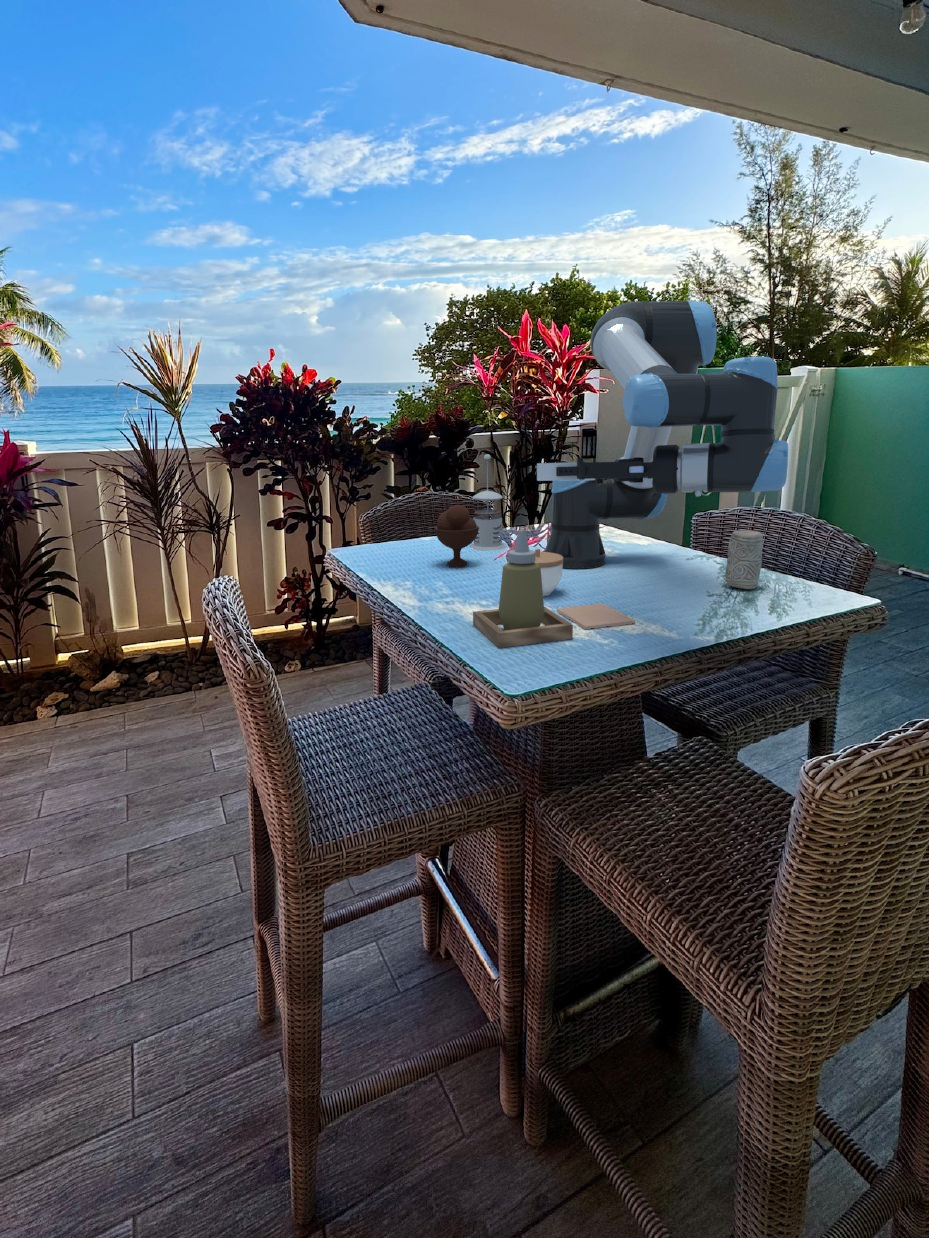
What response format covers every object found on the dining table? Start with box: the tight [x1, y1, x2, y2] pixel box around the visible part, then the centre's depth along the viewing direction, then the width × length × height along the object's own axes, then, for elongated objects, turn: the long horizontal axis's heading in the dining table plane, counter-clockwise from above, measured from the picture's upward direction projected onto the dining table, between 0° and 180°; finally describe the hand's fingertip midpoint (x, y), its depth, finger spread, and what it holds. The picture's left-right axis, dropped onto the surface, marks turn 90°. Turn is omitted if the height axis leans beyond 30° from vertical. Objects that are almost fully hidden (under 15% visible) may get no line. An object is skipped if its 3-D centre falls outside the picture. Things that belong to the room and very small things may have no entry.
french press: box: [470, 453, 506, 551], centre depth 195 cm, size 10×12×25 cm
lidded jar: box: [534, 548, 564, 597], centre depth 149 cm, size 11×11×9 cm
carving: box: [724, 529, 764, 590], centre depth 150 cm, size 6×8×12 cm
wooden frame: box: [472, 606, 574, 649], centre depth 126 cm, size 13×13×2 cm
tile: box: [556, 602, 636, 630], centre depth 133 cm, size 10×12×1 cm
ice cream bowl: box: [434, 504, 479, 569], centre depth 174 cm, size 11×11×15 cm
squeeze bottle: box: [498, 529, 545, 631], centre depth 123 cm, size 8×8×18 cm
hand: (548, 472), depth 120 cm, fingers open, 13 cm apart
